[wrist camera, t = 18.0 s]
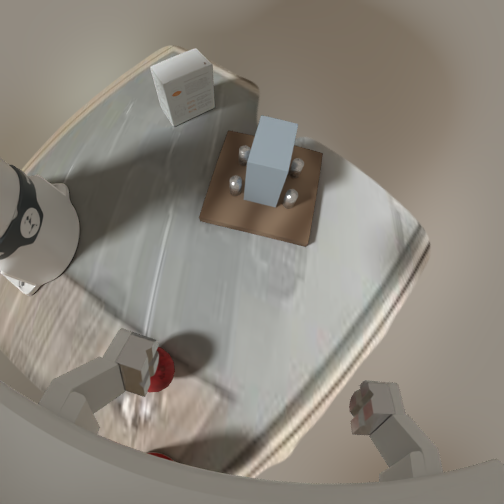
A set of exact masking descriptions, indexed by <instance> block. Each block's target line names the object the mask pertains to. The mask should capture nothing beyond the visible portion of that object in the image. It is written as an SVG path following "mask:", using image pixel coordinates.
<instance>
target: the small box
mask: <svg viewBox="0 0 504 504" xmlns="http://www.w3.org/2000/svg"><path fill="white" fill-rule="evenodd" d="M150 69H151V72H152V76H153V80H154V83H155V87H156V91H157V94H158V98H159V101H160V105H161V108H162V110H163V111H164V113H165V114H166V116H167V117H168V119H169V120H170V122H171V123H172V125H173V126H174V127H175V126H177V125H179V124H181V123H183V122H185V121H187V120H189V119H191V118H193V117H196V116H198V115H200V114H202V113H204V112H206V111H208V110H211V109H213V108H215V100H214V83H213V65H212V64H211V63H210V62H209V61H208V60H207V59H206V58H205V57H204V56H203V55H202V54H201V53H200V52H199V51H198V50H197V49H196V48H195V49H192V50H189V51H187V52H184V53H182V54H179V55H177V56H174V57H172V58H169V59H167V60H164V61H162V62H160V63H157V64H155V65H153V66H151V67H150Z"/></svg>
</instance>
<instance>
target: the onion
mask: <svg viewBox="0 0 504 504" xmlns="http://www.w3.org/2000/svg"><path fill="white" fill-rule="evenodd" d="M156 351H157V352H158V353H159V361H158V366H157V369H156V372H155V374H154V376H152V377H150V386H149V389H148V391H147V392H159V391H161V390H163V389H165V388H166V387H168V386H169V384H170V383H171V381H172V380H173V376H174V372H175V369H174V362H173V360H172V358H171V356H170V354H169V353H167V352H166V351H165V350H164V349H162V348H160V347H158V348H157V350H156Z"/></svg>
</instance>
